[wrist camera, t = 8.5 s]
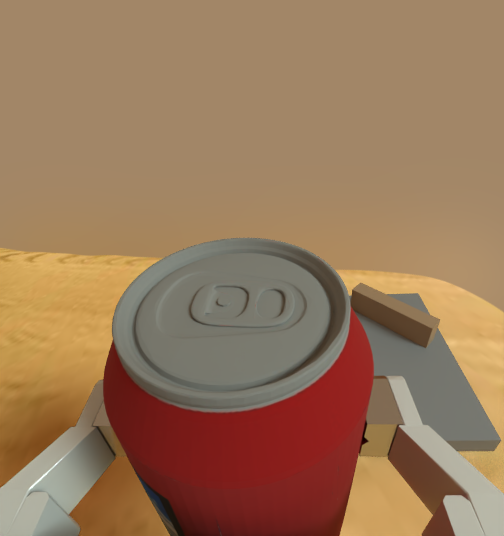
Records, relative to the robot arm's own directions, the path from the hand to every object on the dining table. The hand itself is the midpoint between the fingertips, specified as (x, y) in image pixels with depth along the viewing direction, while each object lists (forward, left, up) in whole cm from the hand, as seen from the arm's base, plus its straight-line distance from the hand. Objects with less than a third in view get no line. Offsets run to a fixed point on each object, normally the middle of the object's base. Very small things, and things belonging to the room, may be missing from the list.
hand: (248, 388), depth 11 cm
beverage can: (-1, -1, -7) cm, 7 cm away
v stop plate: (+15, +5, -17) cm, 23 cm away
